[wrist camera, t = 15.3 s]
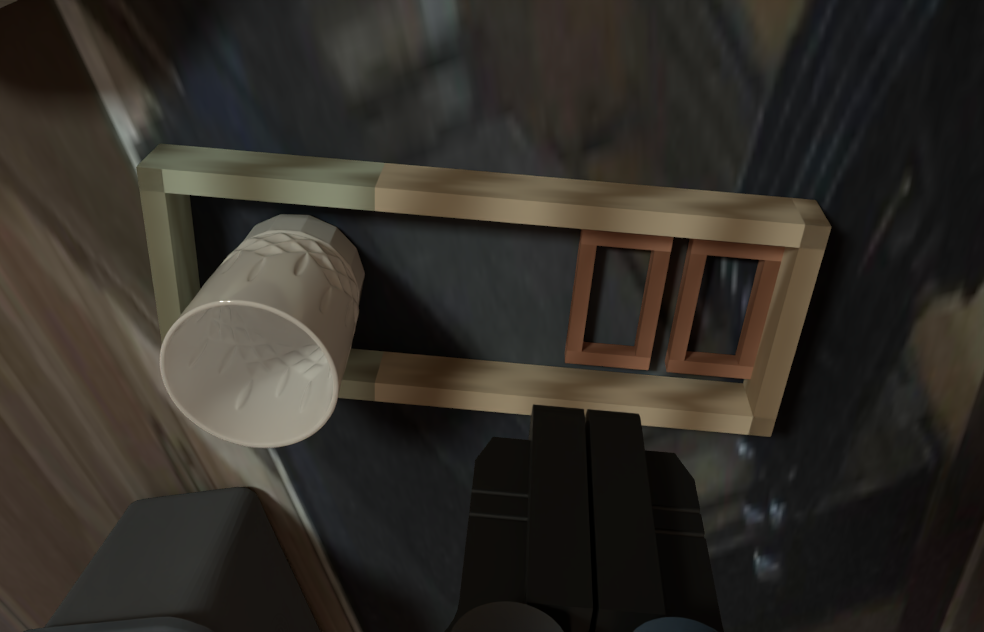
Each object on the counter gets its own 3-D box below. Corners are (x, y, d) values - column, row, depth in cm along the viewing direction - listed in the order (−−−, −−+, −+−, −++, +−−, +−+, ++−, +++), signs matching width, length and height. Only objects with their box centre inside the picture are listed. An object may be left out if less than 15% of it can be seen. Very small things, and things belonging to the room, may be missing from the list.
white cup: (363, 346, 51) (325, 464, 43) (223, 314, 51) (155, 428, 42) (387, 221, 47) (350, 324, 38) (234, 185, 46) (162, 282, 38)
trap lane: (815, 199, 45) (831, 226, 42) (760, 402, 51) (770, 436, 49) (159, 143, 45) (136, 166, 43) (186, 351, 52) (167, 382, 49)
